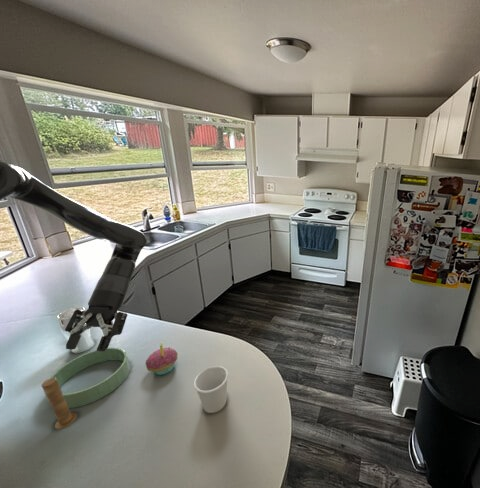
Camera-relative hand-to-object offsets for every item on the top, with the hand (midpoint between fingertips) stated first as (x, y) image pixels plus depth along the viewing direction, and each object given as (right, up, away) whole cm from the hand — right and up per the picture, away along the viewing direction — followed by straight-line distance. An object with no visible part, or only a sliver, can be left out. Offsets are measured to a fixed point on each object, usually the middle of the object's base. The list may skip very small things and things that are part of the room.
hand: (85, 350), depth 68 cm
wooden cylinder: (-1, -17, -4) cm, 18 cm away
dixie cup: (+35, -16, +2) cm, 38 cm away
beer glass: (-19, -8, +20) cm, 29 cm away
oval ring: (-4, -13, +7) cm, 15 cm away
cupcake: (+14, -12, +12) cm, 22 cm away
